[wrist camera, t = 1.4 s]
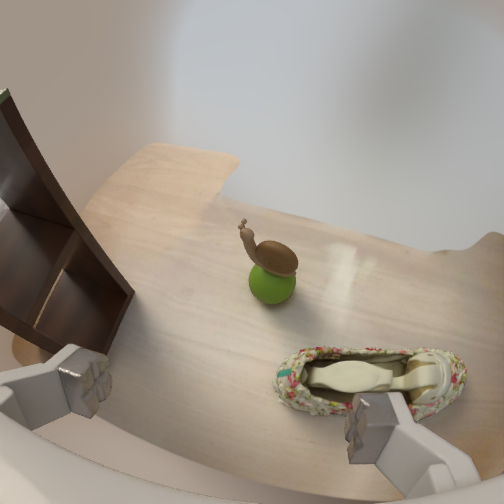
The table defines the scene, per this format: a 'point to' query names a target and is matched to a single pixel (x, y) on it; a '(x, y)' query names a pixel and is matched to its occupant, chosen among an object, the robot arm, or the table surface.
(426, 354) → the ballet flat
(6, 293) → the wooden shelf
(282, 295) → the snail figurine
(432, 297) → the table surface
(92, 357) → the robot arm
